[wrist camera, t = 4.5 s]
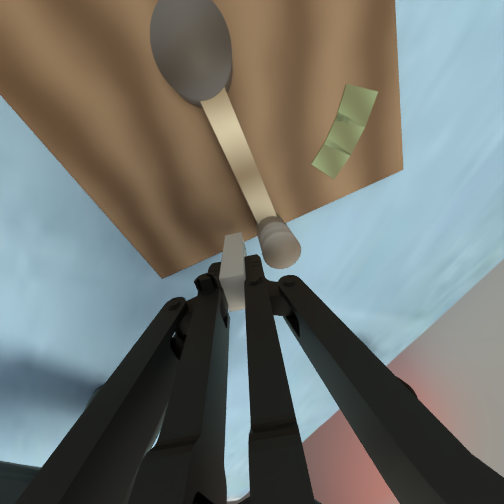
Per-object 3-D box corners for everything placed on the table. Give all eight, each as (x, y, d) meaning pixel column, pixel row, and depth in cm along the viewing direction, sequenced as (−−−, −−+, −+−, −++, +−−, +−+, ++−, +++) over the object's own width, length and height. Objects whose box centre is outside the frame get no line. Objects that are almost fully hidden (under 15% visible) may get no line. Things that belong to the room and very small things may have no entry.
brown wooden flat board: (166, 272, 25) (161, 279, 23) (-144, -94, 11) (-197, -128, 10) (392, 168, 21) (404, 169, 19) (334, -601, 7) (358, -784, 6)
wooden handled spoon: (151, 43, 14) (81, -48, 7) (211, 3, 13) (189, -135, 7) (253, 243, 22) (260, 278, 16) (293, 225, 21) (317, 255, 15)
